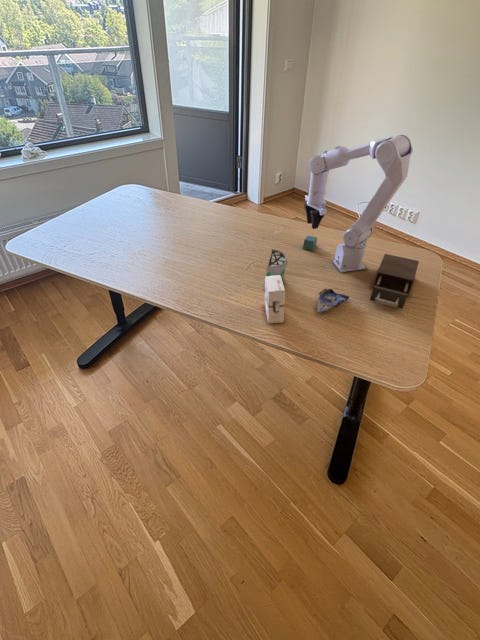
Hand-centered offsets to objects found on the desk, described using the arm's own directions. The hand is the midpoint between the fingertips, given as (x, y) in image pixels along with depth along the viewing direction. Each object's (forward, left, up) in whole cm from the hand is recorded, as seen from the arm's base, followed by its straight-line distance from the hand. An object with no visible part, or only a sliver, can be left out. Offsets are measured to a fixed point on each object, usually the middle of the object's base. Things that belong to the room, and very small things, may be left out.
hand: (312, 225), depth 132 cm
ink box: (-26, -37, -10) cm, 46 cm away
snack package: (-7, -36, -10) cm, 38 cm away
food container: (-20, -21, -10) cm, 31 cm away
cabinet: (+19, -30, -9) cm, 37 cm away
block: (0, 0, -9) cm, 9 cm away
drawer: (+12, -38, -9) cm, 41 cm away
